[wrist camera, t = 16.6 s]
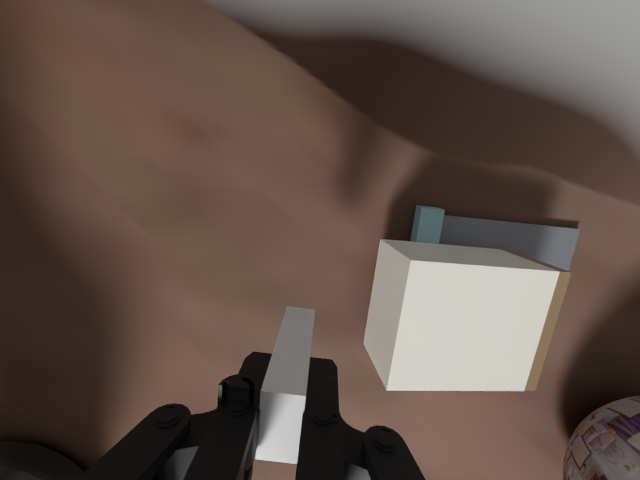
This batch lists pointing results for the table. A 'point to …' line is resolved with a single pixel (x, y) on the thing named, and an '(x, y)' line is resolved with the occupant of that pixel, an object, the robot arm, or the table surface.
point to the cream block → (461, 317)
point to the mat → (513, 238)
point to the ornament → (606, 444)
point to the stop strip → (427, 224)
